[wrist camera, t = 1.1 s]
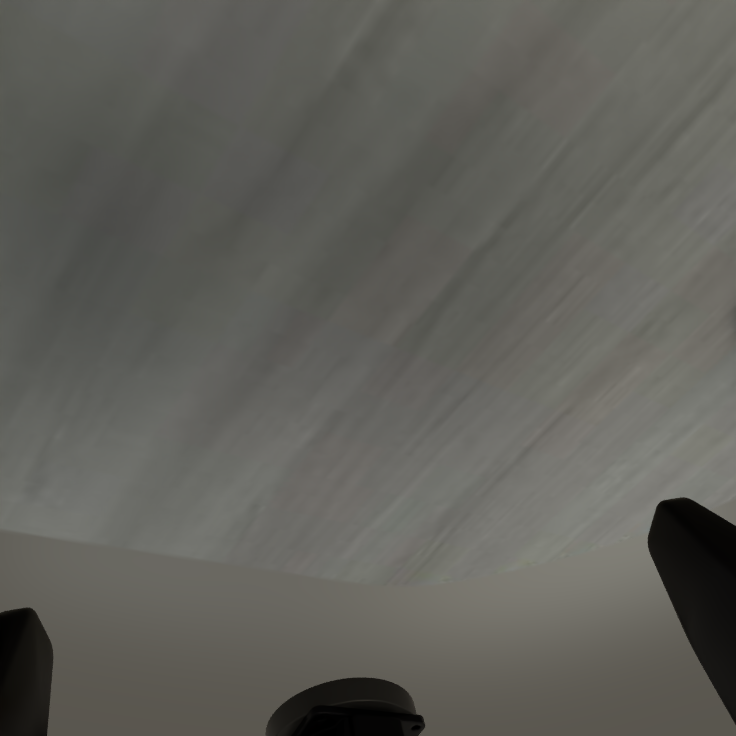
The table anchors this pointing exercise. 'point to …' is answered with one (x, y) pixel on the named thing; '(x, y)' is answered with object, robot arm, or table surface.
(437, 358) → the table surface
